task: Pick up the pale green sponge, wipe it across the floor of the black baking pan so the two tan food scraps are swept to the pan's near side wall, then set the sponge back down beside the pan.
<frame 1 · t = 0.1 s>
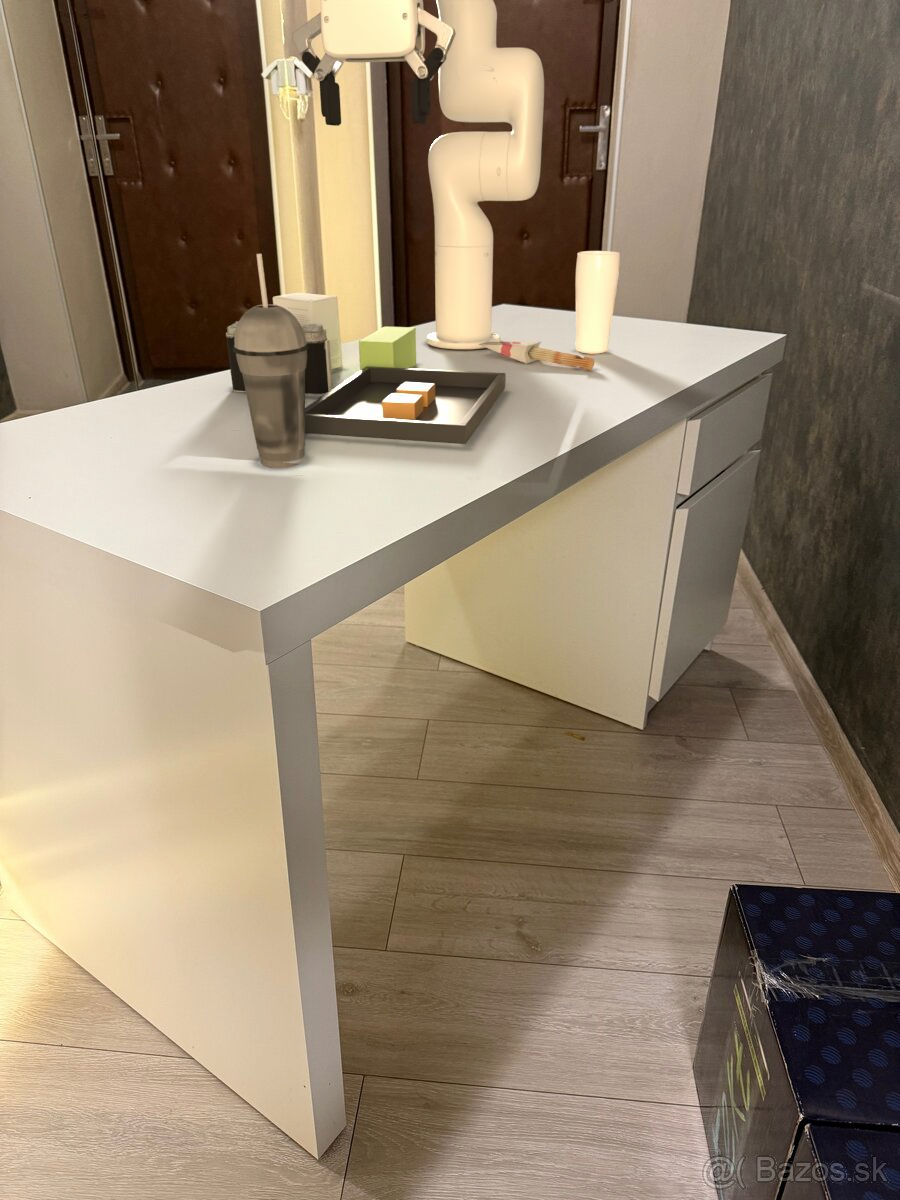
hand: (375, 124, 89), 31 cm above the table, tool pointing down, fingers open, 9 cm apart
scrap b: (403, 414, 100), point 1 cm above the table, touching pan
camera: (276, 395, 111), on the table
paintbrush: (534, 363, 129), on the table
drinking glass: (591, 352, 136), on the table
pan: (410, 412, 103), on the table
scrap a: (416, 402, 105), point 1 cm above the table, touching pan
sponge: (389, 372, 123), on the table
small box: (311, 371, 125), on the table
beverage cup: (282, 462, 87), on the table
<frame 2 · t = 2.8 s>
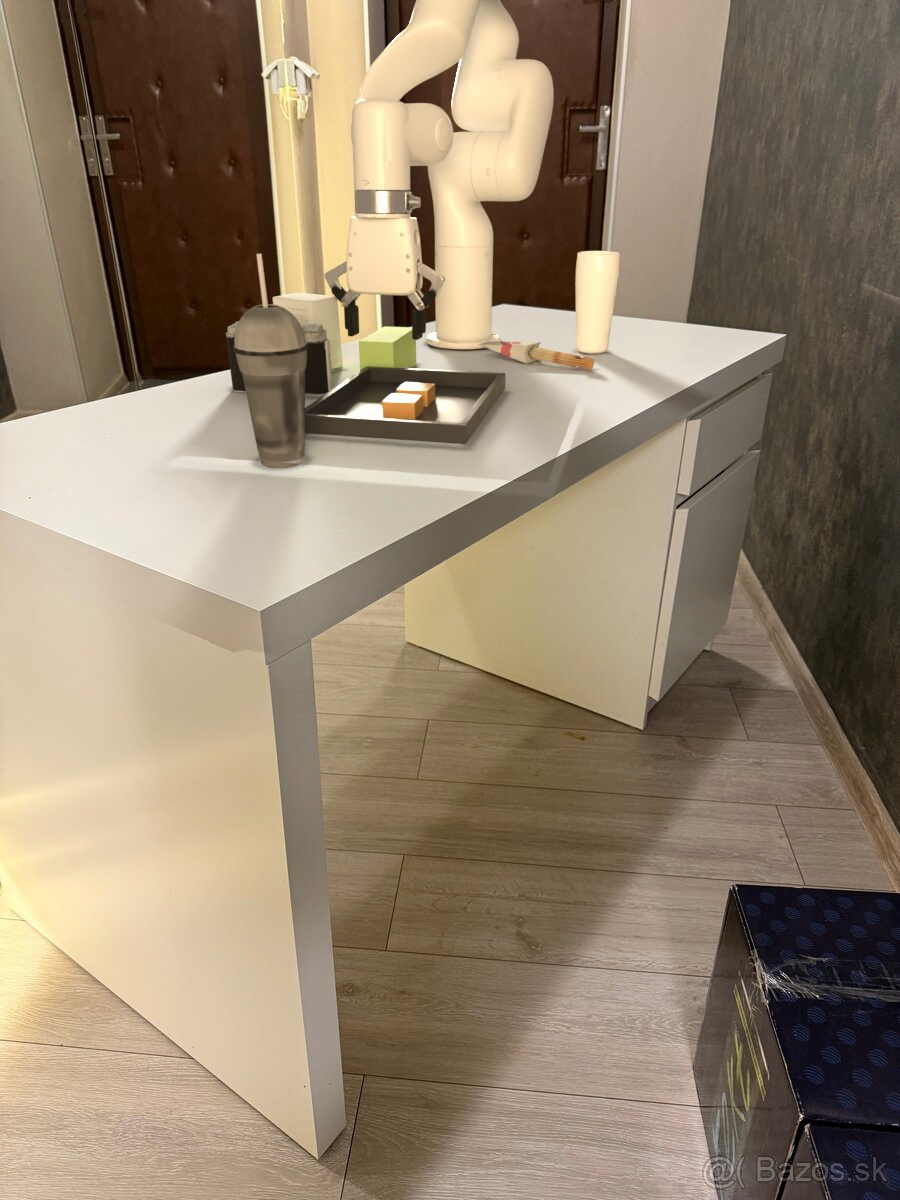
hand: (385, 336, 120), 5 cm above the table, tool pointing down, fingers open, 9 cm apart
small box: (311, 371, 125), on the table, touching gripper
everything else where it was.
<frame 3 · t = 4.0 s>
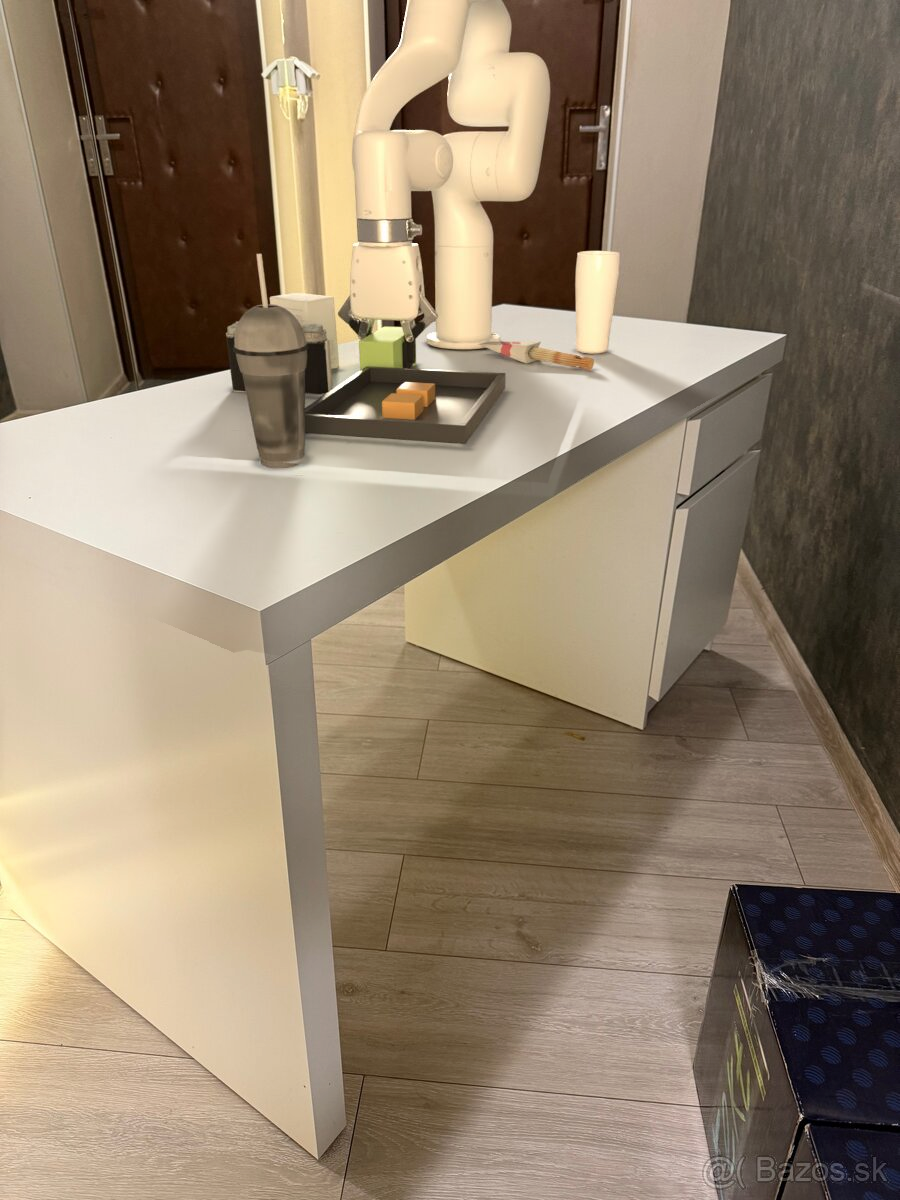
hand: (389, 365, 122), 1 cm above the table, tool pointing down, fingers closed on sponge, 5 cm apart
sponge: (389, 372, 123), on the table, touching gripper
small box: (308, 371, 124), on the table
everything else where it was.
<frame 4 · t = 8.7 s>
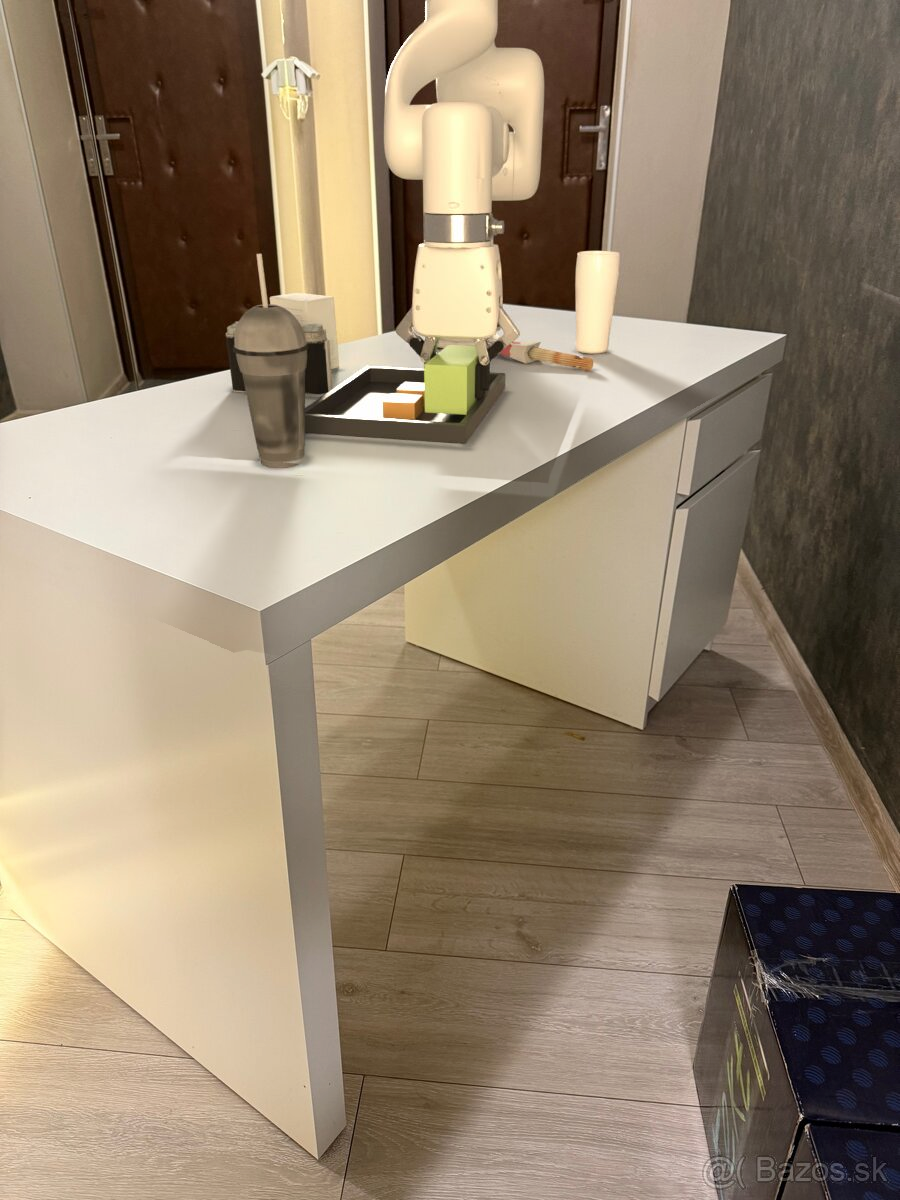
hand: (457, 393, 100), 3 cm above the table, tool pointing down, fingers closed on sponge, 5 cm apart
sponge: (456, 401, 101), point 2 cm above the table, touching gripper
everything else where it was.
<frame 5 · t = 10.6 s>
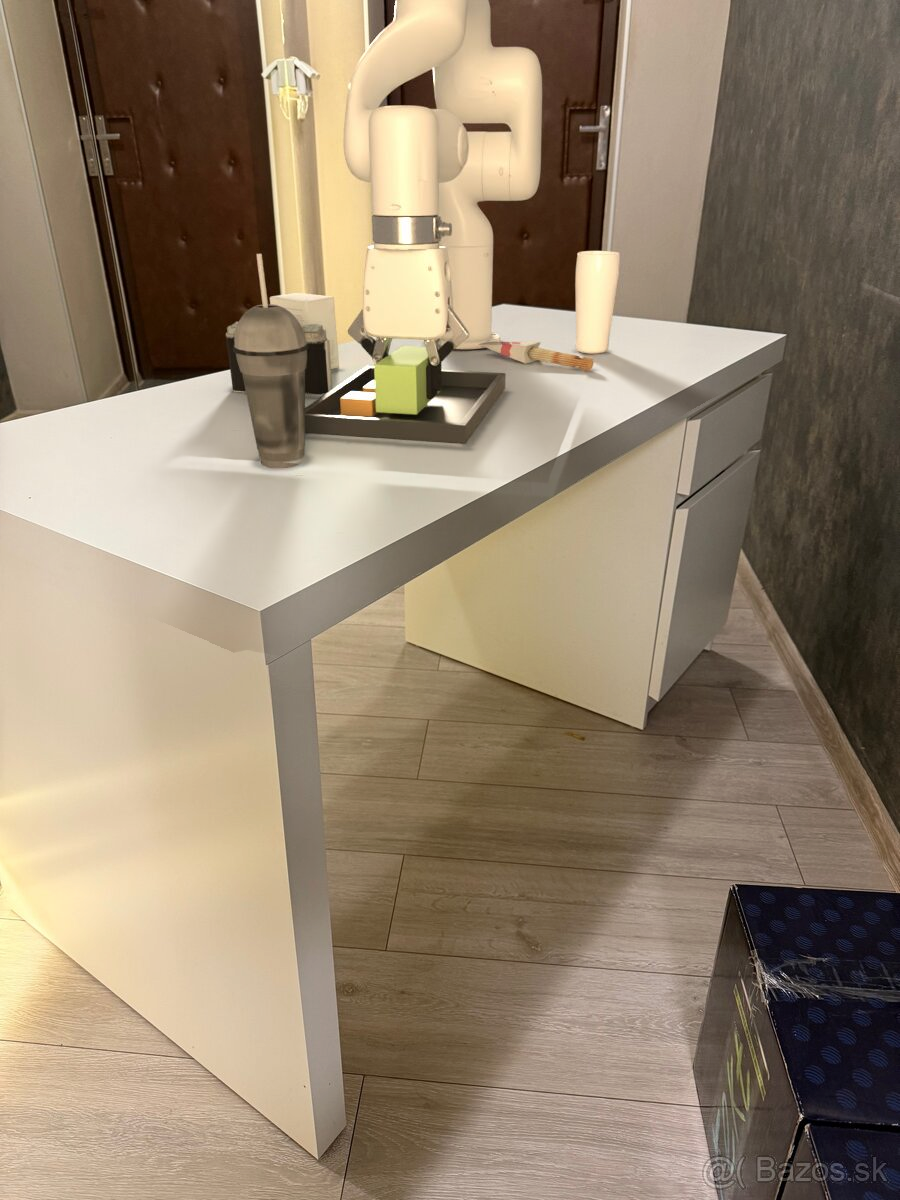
hand: (409, 393, 101), 2 cm above the table, tool pointing down, fingers closed on sponge, 5 cm apart
scrap b: (361, 411, 101), point 1 cm above the table, touching gripper, pan
scrap a: (383, 400, 106), point 1 cm above the table, touching gripper, pan
sponge: (409, 401, 102), point 2 cm above the table, touching gripper
everything else where it was.
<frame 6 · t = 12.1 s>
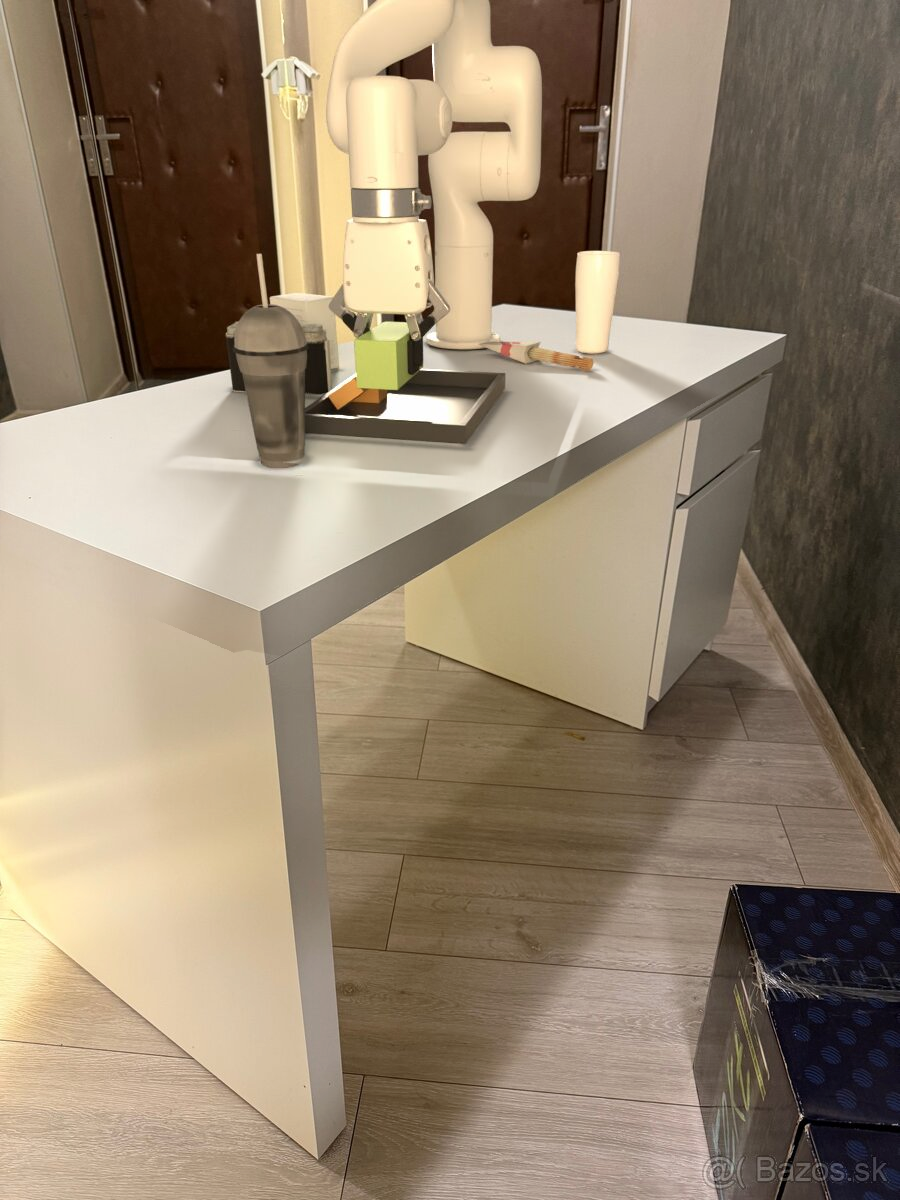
hand: (391, 369, 101), 5 cm above the table, tool pointing down, fingers closed on sponge, 5 cm apart
scrap b: (354, 398, 101), point 2 cm above the table, tilted 36°
scrap a: (368, 398, 107), point 1 cm above the table, touching pan
sponge: (391, 377, 101), point 4 cm above the table, touching gripper
everything else where it was.
when the fingers open (1 cm above the table, at t = 17.3 s): sponge stays where it is, on the table.
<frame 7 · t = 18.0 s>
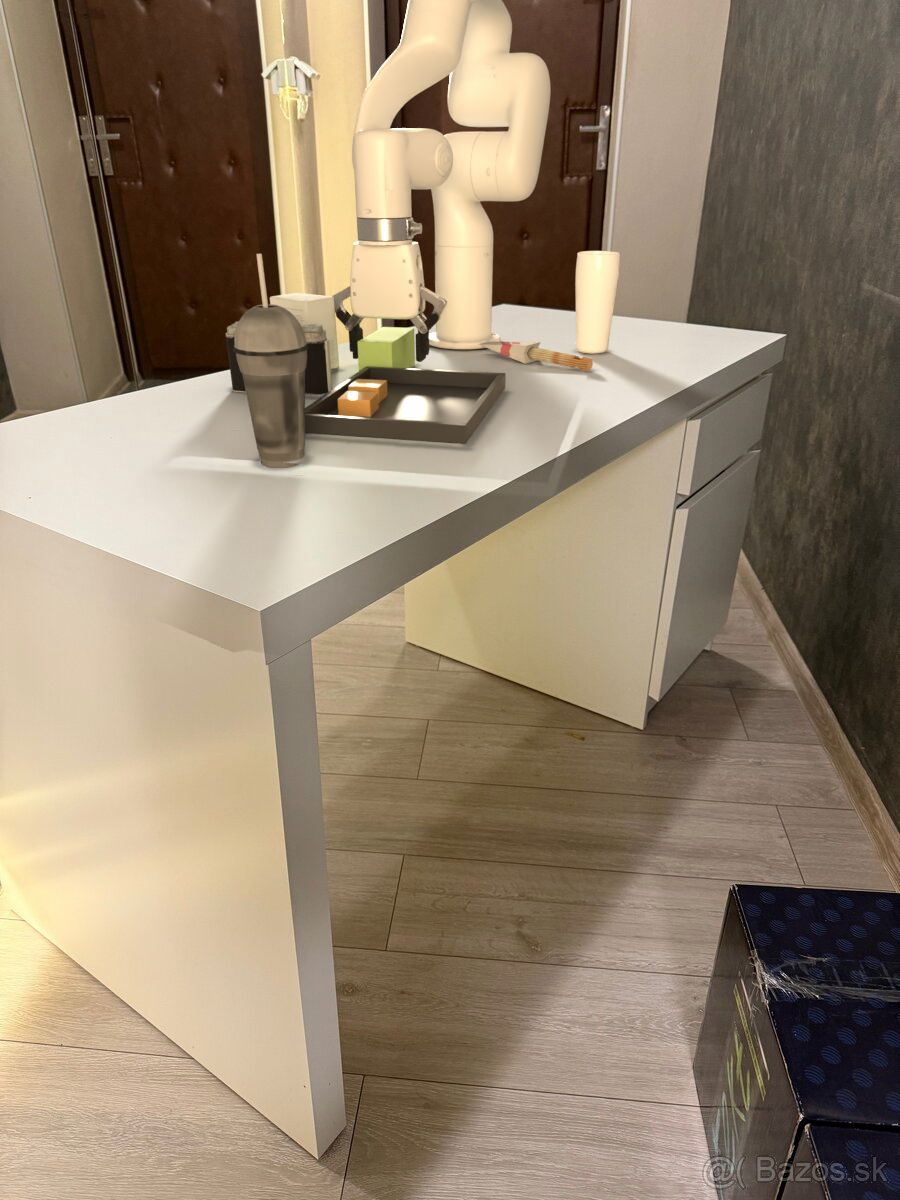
hand: (389, 358, 122), 2 cm above the table, tool pointing down, fingers open, 9 cm apart
scrap b: (358, 411, 101), point 1 cm above the table, touching pan
sponge: (388, 372, 123), on the table
everything else where it was.
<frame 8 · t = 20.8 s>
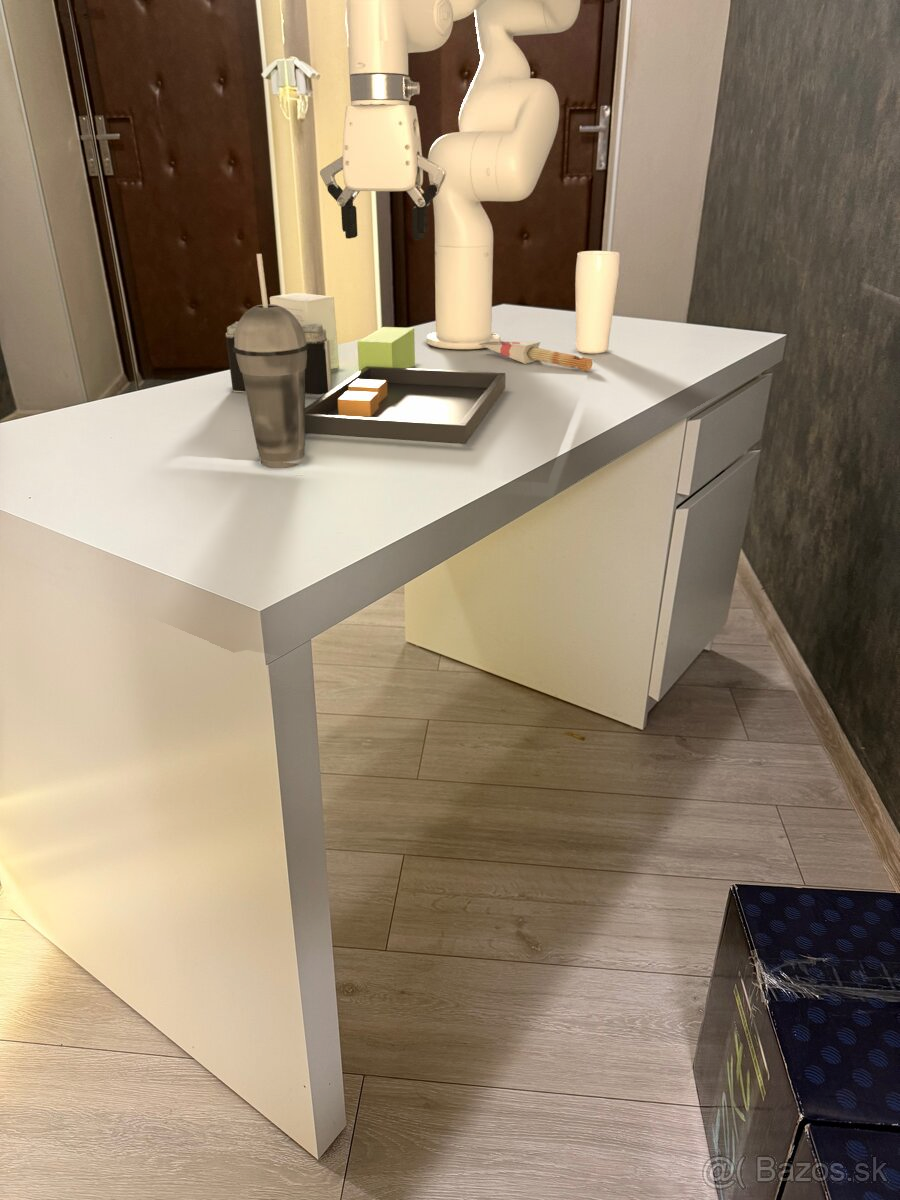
hand: (384, 238, 114), 18 cm above the table, tool pointing down, fingers open, 9 cm apart
nothing on the table moved.
at the end: scrap a inside the target area in the pan (3.3 cm from its centre), point 0.6 cm above the pan's base; scrap b inside the target area in the pan (3.3 cm from its centre), point 0.6 cm above the pan's base; the gripper is holding nothing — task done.
